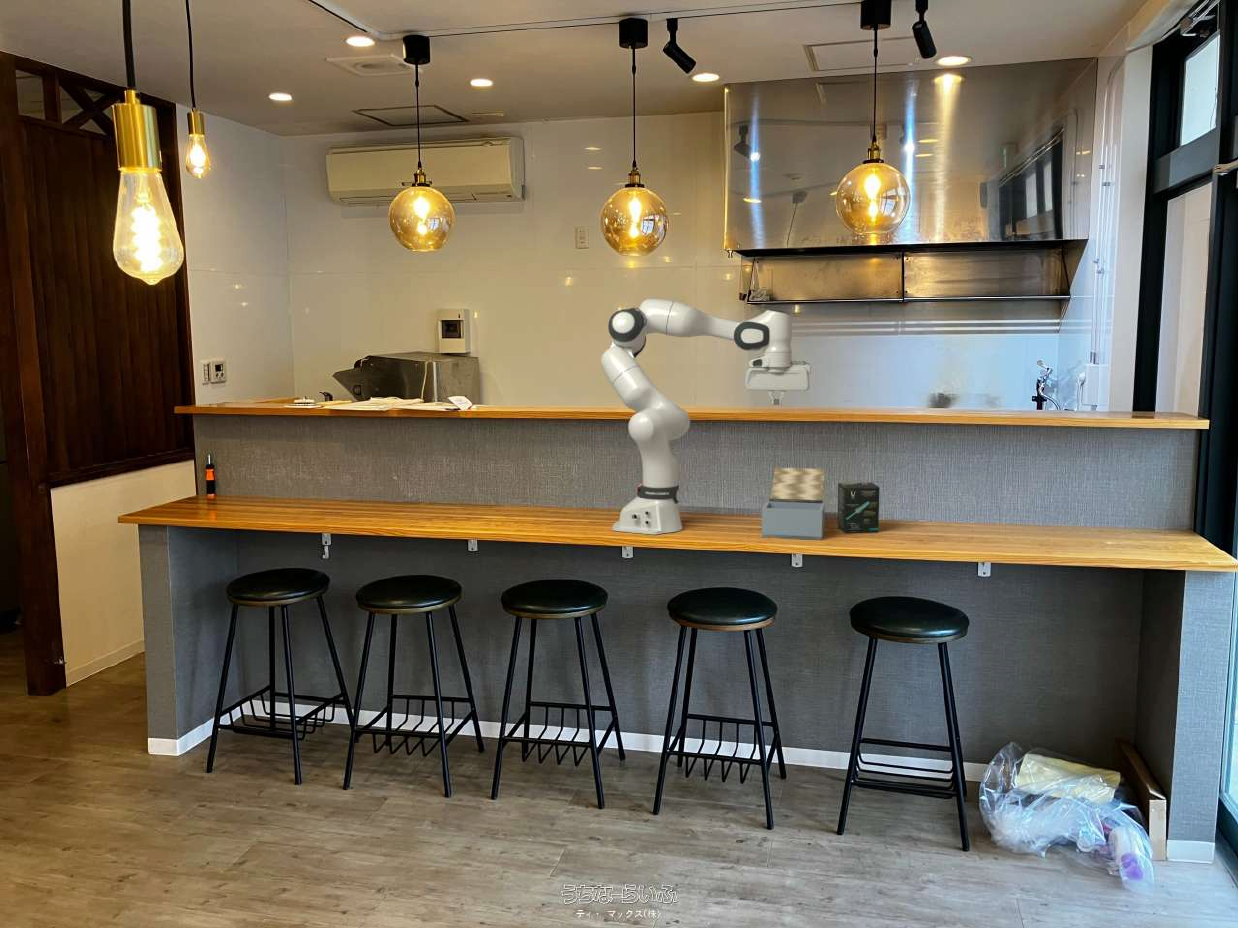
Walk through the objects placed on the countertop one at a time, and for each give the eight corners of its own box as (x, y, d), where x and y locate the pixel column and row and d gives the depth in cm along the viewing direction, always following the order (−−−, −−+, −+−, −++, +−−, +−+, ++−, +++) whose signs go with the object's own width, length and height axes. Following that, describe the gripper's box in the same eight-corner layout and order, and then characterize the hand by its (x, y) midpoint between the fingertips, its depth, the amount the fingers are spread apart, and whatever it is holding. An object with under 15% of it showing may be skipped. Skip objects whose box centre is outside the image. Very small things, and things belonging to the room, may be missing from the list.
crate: (761, 537, 292) (762, 508, 291) (766, 529, 304) (766, 501, 302) (821, 540, 287) (822, 510, 286) (824, 531, 299) (824, 503, 298)
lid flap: (769, 499, 302) (774, 467, 315) (769, 502, 303) (774, 469, 316) (822, 501, 298) (826, 468, 311) (822, 504, 298) (826, 471, 311)
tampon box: (870, 526, 306) (871, 481, 304) (879, 532, 297) (880, 486, 294) (836, 527, 305) (837, 482, 303) (844, 533, 296) (845, 487, 294)
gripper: (811, 360, 302) (810, 404, 304) (747, 360, 308) (746, 403, 310) (810, 361, 296) (809, 406, 298) (744, 361, 302) (743, 405, 304)
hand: (776, 404), depth 304 cm, fingers closed
